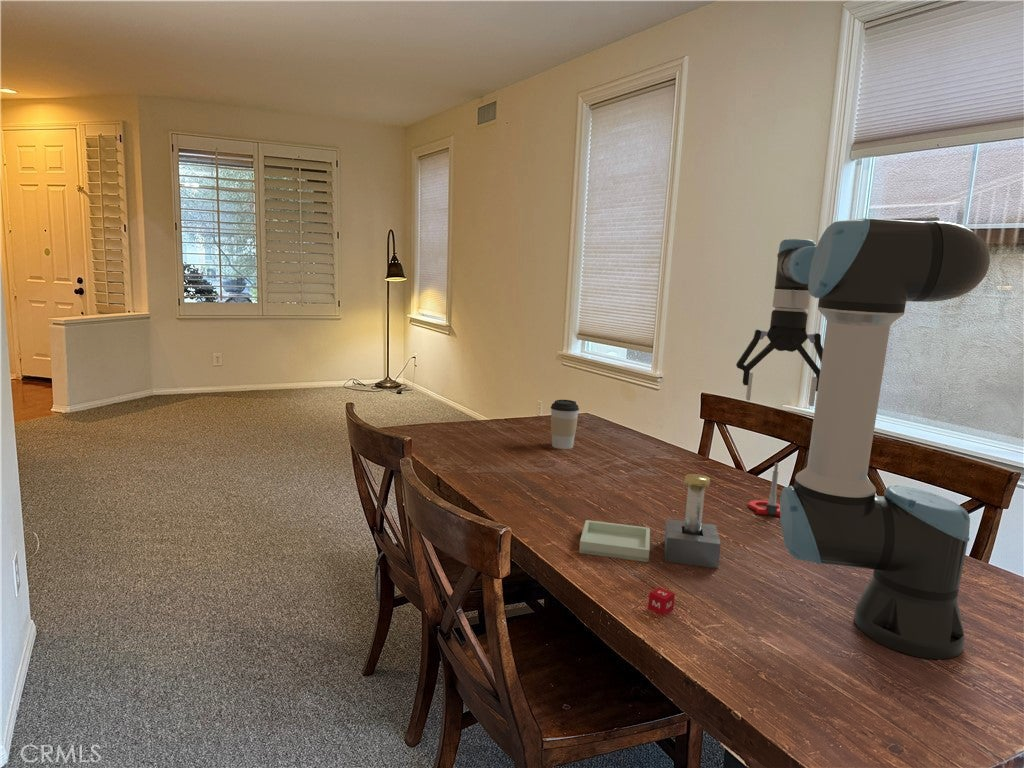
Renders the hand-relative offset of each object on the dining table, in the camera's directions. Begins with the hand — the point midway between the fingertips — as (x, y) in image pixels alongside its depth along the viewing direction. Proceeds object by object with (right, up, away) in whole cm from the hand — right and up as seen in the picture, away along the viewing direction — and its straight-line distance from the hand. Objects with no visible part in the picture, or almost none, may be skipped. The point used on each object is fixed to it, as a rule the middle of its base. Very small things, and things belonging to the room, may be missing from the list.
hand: (779, 402), depth 149 cm
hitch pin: (-26, -30, -18) cm, 44 cm away
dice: (-37, -34, -40) cm, 64 cm away
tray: (-40, -29, -16) cm, 52 cm away
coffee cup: (-45, -16, +59) cm, 76 cm away
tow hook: (+1, -27, +10) cm, 29 cm away
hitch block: (-26, -30, -18) cm, 44 cm away
